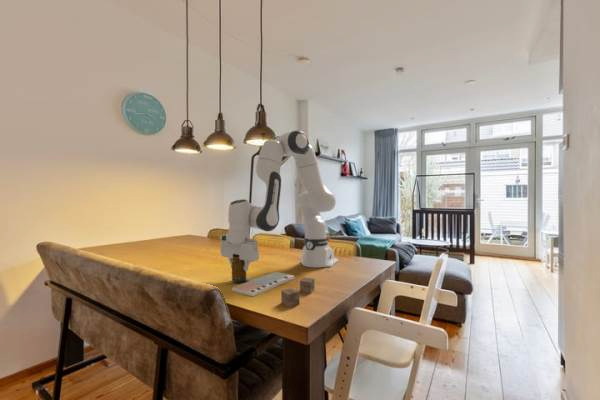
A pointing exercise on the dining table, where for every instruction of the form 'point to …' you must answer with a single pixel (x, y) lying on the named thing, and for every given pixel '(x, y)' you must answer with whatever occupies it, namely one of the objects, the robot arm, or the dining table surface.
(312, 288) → the walnut block
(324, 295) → the dining table surface
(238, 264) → the condiment
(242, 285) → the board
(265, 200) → the robot arm
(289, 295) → the walnut block
